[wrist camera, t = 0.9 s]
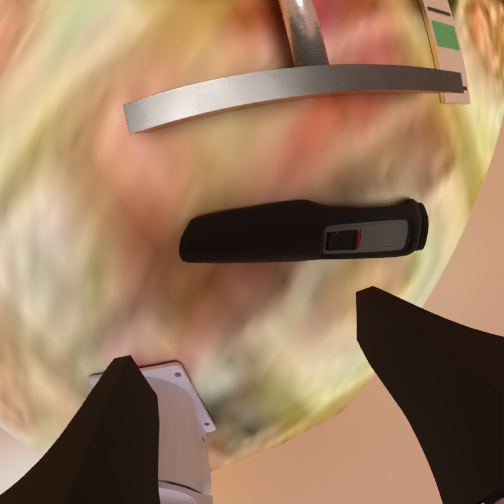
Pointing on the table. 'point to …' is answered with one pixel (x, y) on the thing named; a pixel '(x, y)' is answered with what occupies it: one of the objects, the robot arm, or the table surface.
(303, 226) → the electric trimmer
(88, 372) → the table surface
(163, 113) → the gauge plunger
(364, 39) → the table surface
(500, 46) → the table surface
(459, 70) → the gauge frame
